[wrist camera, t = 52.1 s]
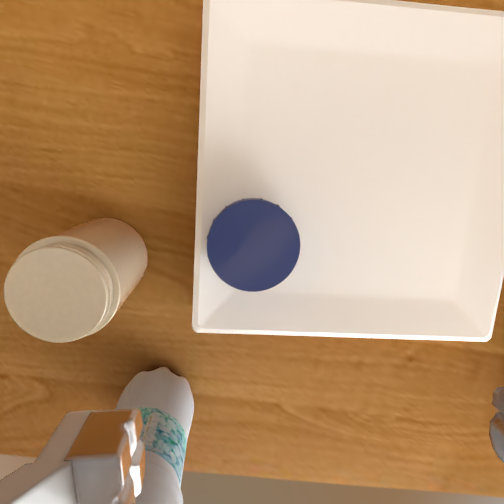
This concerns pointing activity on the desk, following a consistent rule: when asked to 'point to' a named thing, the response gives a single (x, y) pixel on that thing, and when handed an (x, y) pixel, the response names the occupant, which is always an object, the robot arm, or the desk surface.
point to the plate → (357, 164)
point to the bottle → (161, 431)
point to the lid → (253, 244)
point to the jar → (75, 279)
